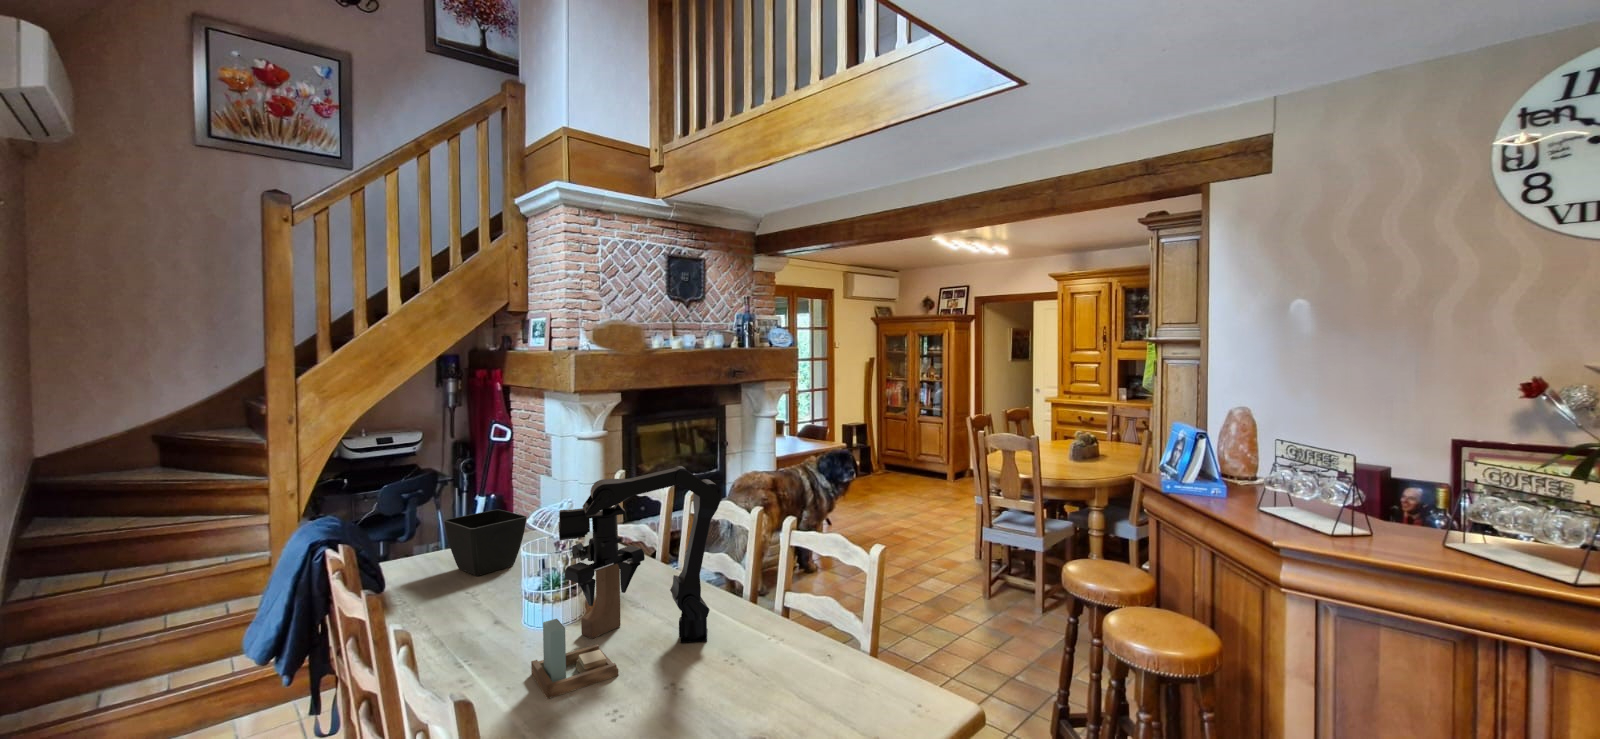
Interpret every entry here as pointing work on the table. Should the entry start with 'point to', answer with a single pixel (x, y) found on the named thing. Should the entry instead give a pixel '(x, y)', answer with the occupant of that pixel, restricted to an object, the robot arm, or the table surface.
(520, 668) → the table surface
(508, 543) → the flower pot
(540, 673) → the rack
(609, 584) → the wooden block
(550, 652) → the tall grey-green pillar
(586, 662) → the offcut stack
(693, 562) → the robot arm
